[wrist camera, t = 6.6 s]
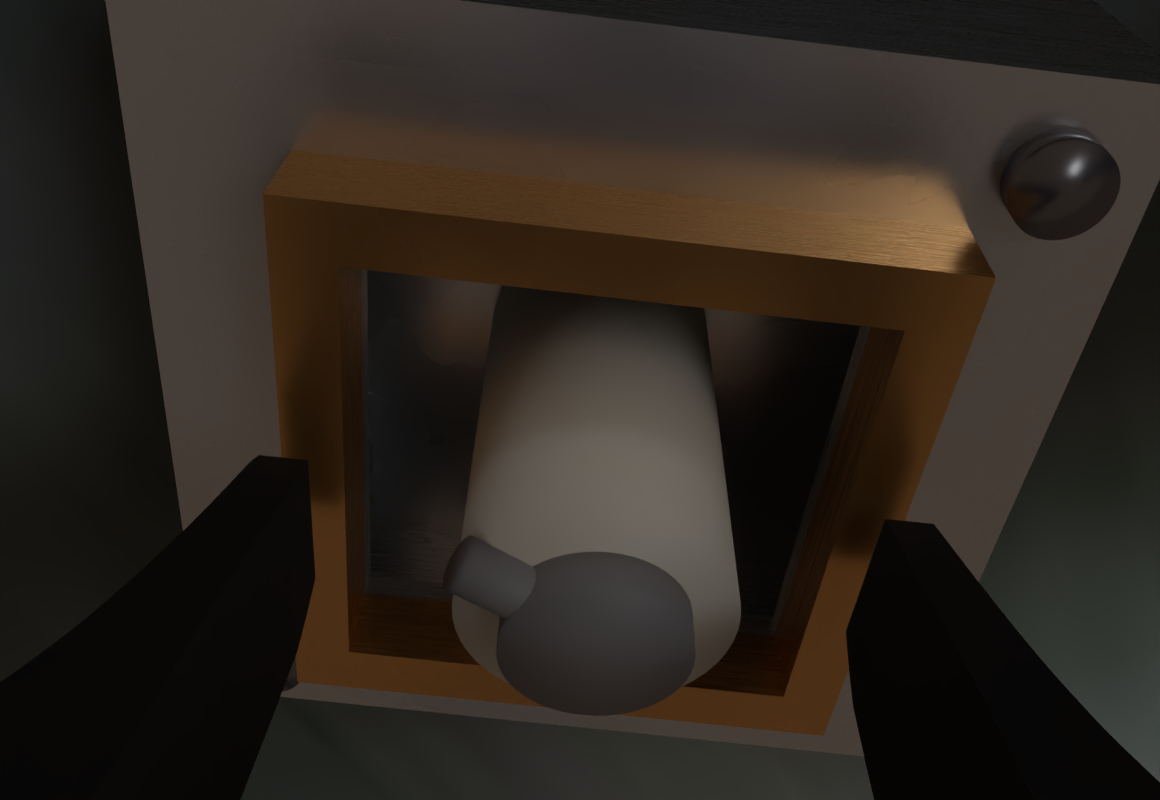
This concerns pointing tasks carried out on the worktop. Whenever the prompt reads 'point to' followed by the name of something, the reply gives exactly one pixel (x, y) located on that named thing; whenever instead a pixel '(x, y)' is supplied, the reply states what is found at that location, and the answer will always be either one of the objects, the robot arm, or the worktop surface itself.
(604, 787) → the worktop surface
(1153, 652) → the worktop surface
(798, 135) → the housing
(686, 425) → the canister
